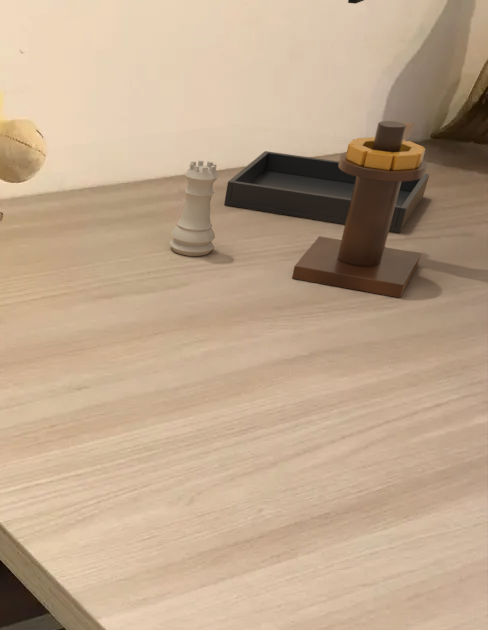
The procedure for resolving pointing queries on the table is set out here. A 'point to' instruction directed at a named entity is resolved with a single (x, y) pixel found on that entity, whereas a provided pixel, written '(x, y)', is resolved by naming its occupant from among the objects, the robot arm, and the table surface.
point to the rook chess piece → (196, 212)
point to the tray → (309, 189)
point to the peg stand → (366, 229)
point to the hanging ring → (386, 153)
